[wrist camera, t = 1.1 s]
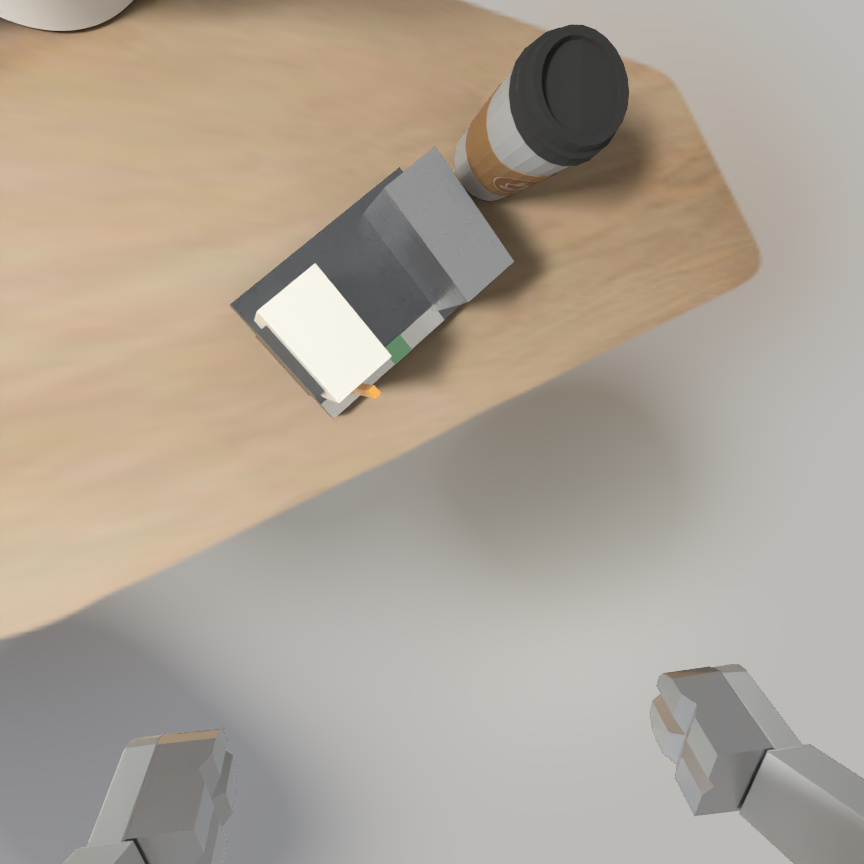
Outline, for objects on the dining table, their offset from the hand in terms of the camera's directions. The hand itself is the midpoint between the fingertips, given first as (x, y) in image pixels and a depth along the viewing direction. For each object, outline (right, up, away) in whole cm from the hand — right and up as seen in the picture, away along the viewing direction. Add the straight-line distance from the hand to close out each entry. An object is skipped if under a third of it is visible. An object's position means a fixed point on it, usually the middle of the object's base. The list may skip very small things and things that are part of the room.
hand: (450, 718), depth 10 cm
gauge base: (-6, +17, +37) cm, 41 cm away
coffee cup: (+4, +29, +39) cm, 49 cm away
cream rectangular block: (-10, +12, +34) cm, 38 cm away
